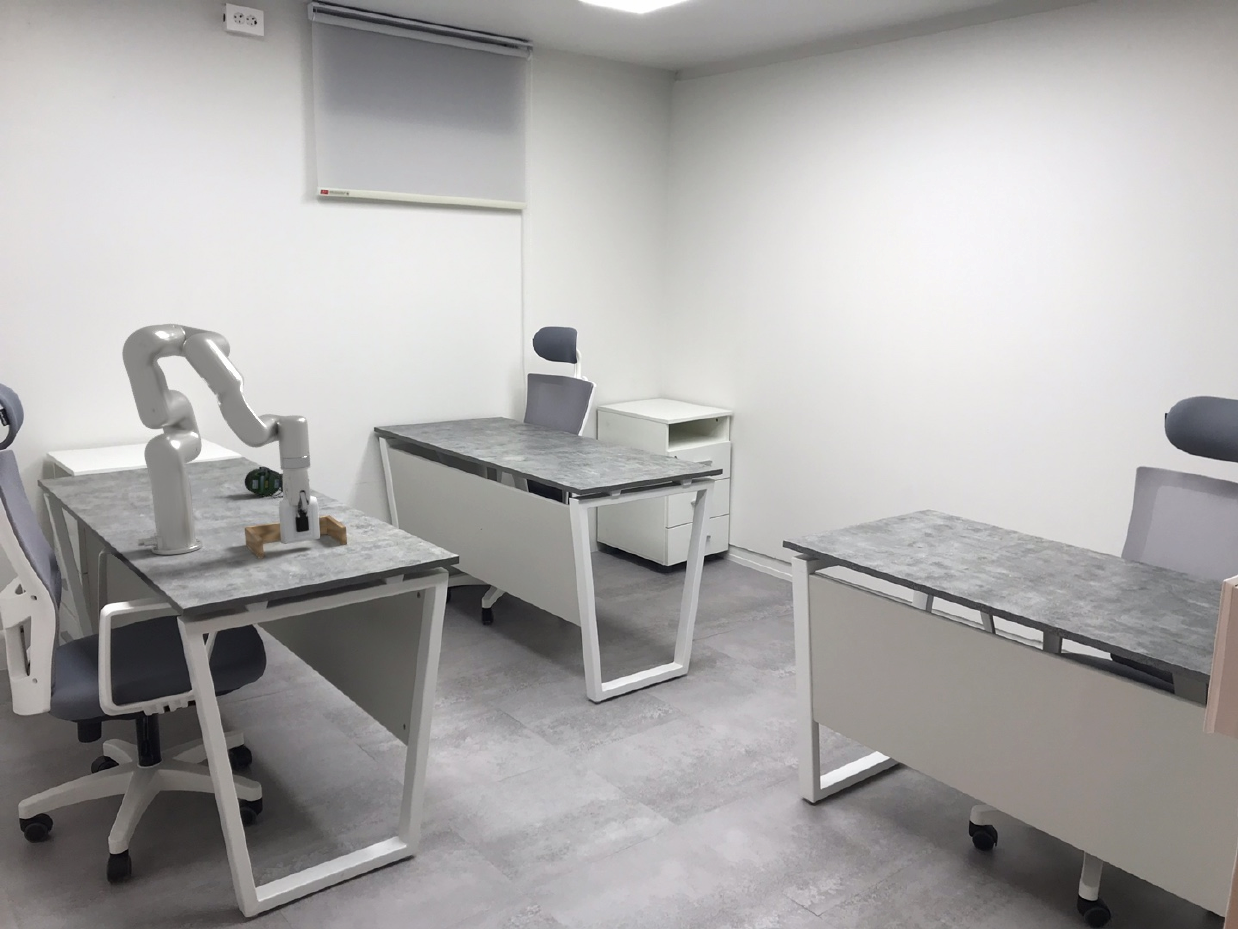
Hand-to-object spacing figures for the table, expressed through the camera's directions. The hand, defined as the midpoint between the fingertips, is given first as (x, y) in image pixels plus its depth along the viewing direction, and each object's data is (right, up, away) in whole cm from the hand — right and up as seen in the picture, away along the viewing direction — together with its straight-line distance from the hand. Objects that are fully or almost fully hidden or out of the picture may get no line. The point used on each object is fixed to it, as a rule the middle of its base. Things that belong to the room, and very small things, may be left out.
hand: (300, 528), depth 258 cm
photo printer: (0, -3, +1) cm, 4 cm away
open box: (-3, -5, +6) cm, 8 cm away
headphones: (-30, +7, +68) cm, 74 cm away
